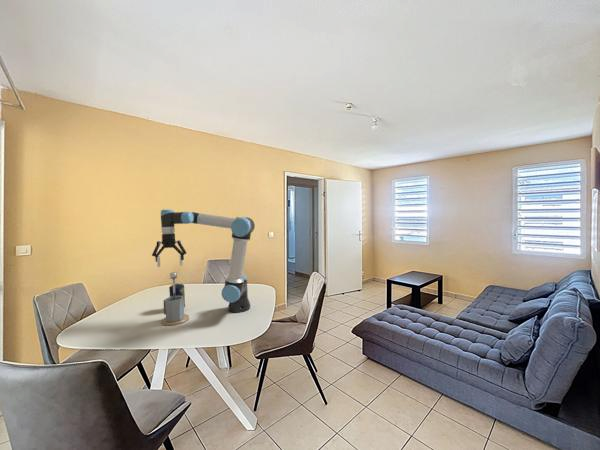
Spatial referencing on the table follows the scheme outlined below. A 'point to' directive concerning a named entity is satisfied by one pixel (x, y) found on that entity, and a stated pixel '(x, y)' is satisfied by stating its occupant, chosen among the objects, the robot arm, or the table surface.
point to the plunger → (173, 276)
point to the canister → (178, 291)
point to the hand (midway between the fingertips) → (170, 266)
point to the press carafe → (174, 312)
